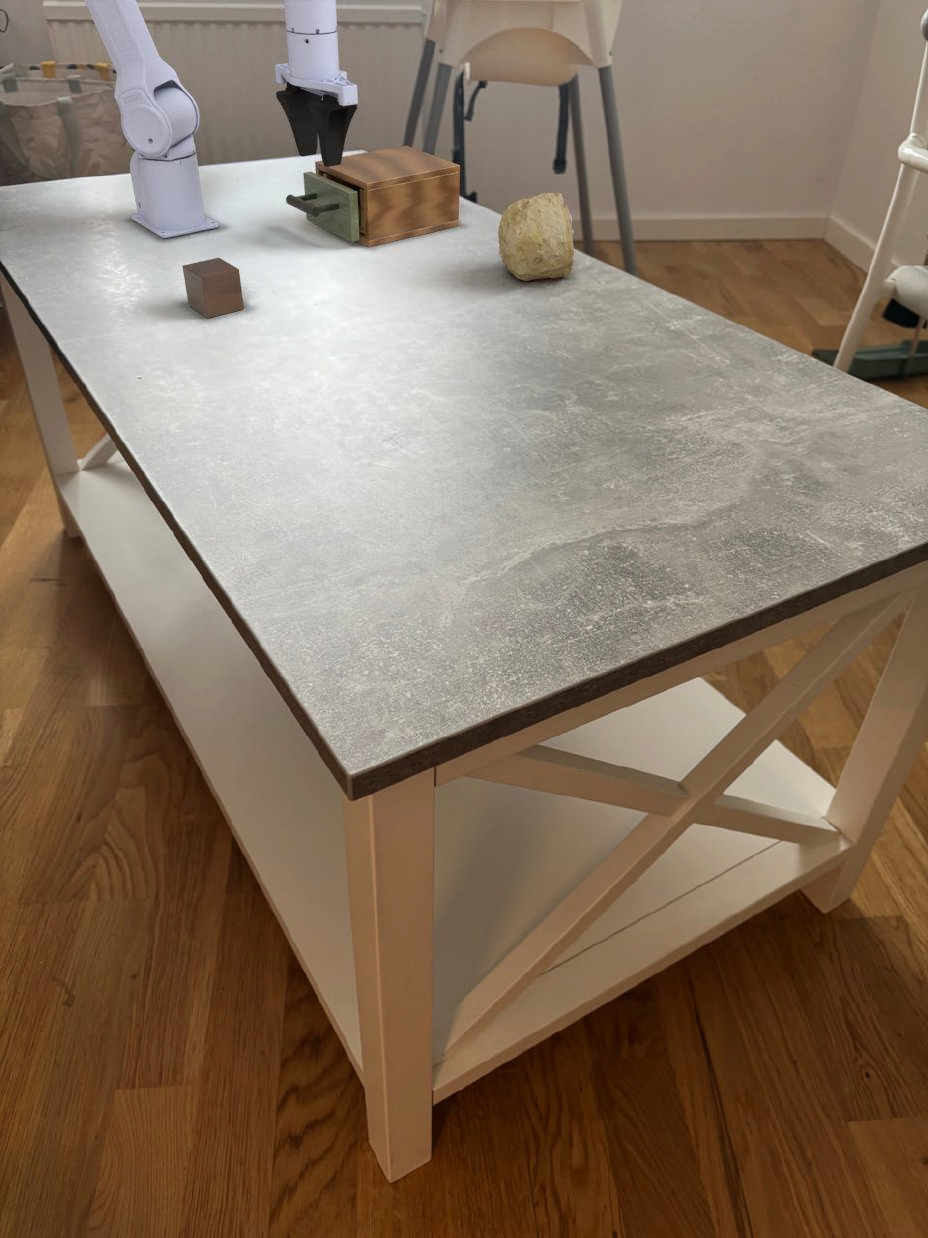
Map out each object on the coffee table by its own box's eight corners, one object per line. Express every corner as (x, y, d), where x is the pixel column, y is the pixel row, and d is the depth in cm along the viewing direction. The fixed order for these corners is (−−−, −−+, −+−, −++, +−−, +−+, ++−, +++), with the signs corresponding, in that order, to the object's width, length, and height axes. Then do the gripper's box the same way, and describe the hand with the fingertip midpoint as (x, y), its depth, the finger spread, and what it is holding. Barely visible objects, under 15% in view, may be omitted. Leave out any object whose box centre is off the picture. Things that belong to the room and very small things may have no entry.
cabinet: (369, 247, 121) (366, 183, 116) (318, 222, 127) (314, 161, 123) (458, 225, 128) (460, 164, 123) (406, 203, 135) (406, 145, 130)
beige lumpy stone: (609, 228, 107) (533, 193, 103) (564, 308, 113) (490, 277, 109) (587, 195, 114) (515, 161, 110) (546, 272, 120) (476, 242, 116)
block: (188, 305, 105) (182, 265, 102) (224, 296, 107) (219, 256, 104) (207, 318, 102) (201, 277, 99) (244, 309, 104) (239, 268, 102)
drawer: (323, 248, 117) (320, 198, 114) (279, 225, 123) (275, 177, 120) (436, 222, 126) (437, 175, 122) (390, 202, 132) (389, 156, 128)
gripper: (378, 36, 106) (381, 168, 114) (307, 18, 114) (315, 142, 123) (324, 42, 102) (331, 177, 111) (255, 22, 111) (267, 149, 119)
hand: (320, 159), depth 117 cm, fingers open, 5 cm apart
